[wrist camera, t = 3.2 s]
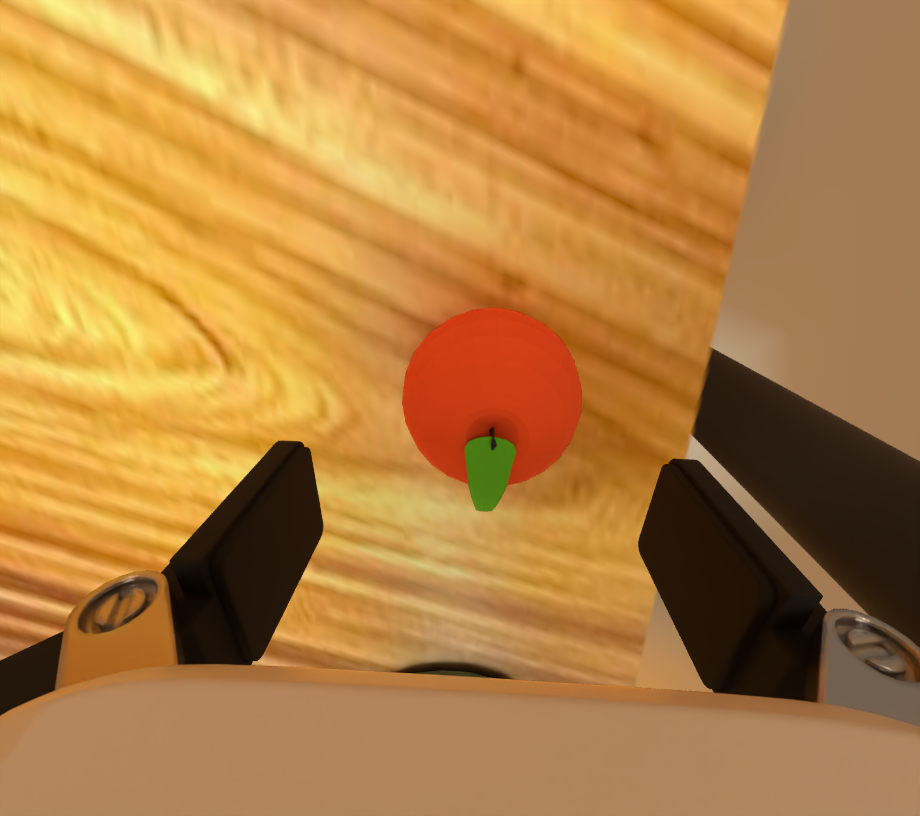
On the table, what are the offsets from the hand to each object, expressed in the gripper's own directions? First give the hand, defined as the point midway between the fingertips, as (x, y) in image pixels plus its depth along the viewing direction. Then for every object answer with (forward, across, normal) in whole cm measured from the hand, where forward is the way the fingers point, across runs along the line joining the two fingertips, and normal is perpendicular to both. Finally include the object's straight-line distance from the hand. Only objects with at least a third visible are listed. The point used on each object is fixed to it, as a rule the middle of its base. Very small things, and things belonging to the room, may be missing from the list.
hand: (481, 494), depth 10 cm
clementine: (+9, 0, 0) cm, 9 cm away
